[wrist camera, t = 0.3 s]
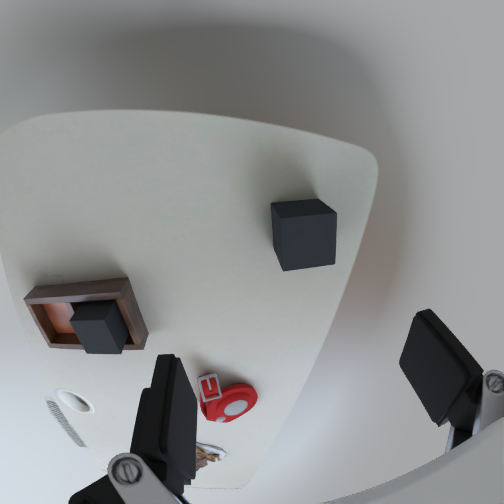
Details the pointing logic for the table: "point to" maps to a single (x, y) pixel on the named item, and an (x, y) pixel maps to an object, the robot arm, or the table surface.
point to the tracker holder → (224, 399)
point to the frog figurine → (207, 454)
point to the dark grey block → (304, 234)
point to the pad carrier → (68, 300)
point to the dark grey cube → (100, 327)
